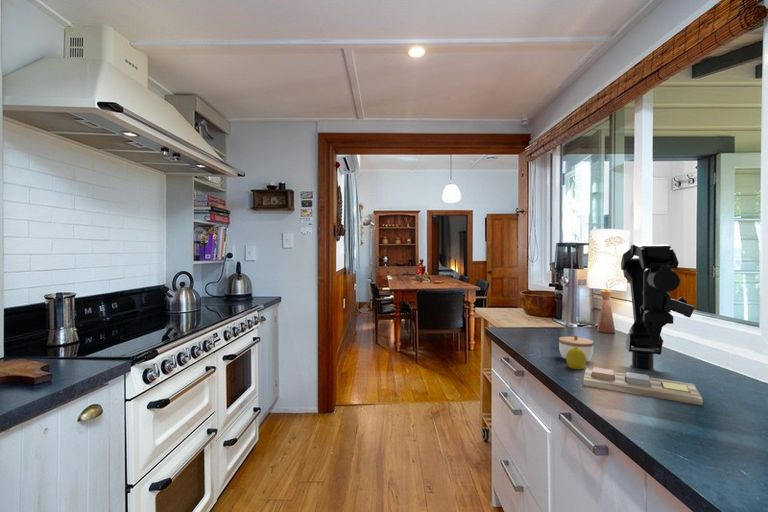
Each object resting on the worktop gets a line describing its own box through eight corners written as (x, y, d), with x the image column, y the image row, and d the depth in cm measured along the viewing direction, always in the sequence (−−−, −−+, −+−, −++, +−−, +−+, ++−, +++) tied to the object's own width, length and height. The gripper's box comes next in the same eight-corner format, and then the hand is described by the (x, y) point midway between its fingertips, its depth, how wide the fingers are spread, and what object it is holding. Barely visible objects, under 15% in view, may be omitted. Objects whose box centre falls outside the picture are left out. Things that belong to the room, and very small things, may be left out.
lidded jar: (570, 356, 134) (570, 330, 134) (600, 364, 125) (600, 336, 125) (551, 360, 129) (552, 333, 129) (581, 368, 119) (581, 340, 119)
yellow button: (661, 392, 98) (661, 381, 98) (685, 396, 95) (685, 385, 95) (664, 399, 94) (664, 387, 94) (689, 403, 91) (689, 391, 91)
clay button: (593, 377, 106) (593, 367, 106) (613, 380, 104) (613, 370, 104) (592, 382, 102) (592, 371, 102) (613, 385, 100) (613, 374, 100)
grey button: (626, 382, 102) (626, 371, 102) (648, 386, 100) (648, 375, 100) (626, 388, 98) (626, 376, 98) (649, 391, 95) (649, 380, 95)
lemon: (588, 375, 113) (588, 349, 113) (569, 374, 114) (569, 348, 114) (582, 370, 118) (582, 345, 118) (564, 368, 119) (564, 344, 119)
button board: (585, 377, 110) (586, 367, 110) (693, 395, 97) (693, 383, 97) (583, 390, 100) (583, 379, 100) (702, 411, 87) (702, 398, 87)
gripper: (698, 293, 92) (698, 355, 92) (686, 287, 108) (685, 340, 108) (644, 290, 98) (644, 348, 98) (640, 285, 114) (639, 335, 114)
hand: (655, 343), depth 104 cm, fingers closed
